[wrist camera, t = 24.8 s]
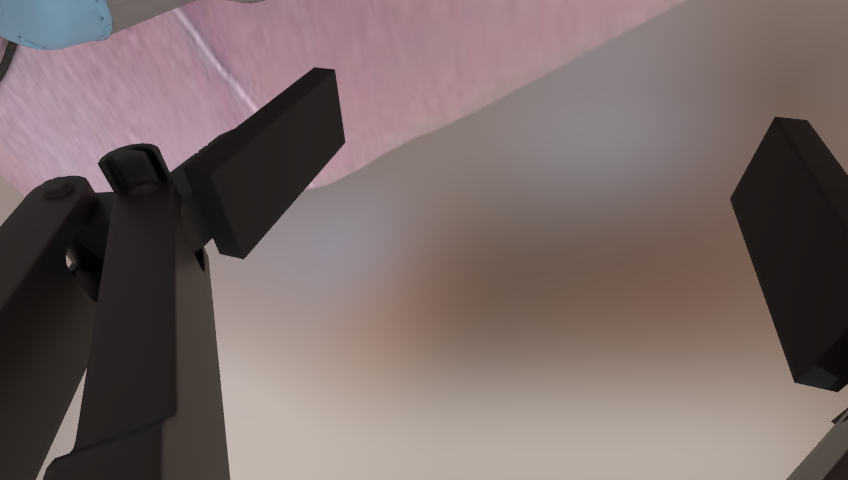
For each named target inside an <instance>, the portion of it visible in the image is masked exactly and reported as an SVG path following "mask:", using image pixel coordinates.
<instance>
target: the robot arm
mask: <svg viewBox="0 0 848 480" xmlns="http://www.w3.org/2000/svg"><path fill="white" fill-rule="evenodd" d="M193 1H195V0H0V36H1V37H3V38H5V39H7V40H9V43H8V46H7V48H6V51H5V54H4V56H3V59H2V62H1V64H0V82H1V80H2V78H3V77H4V75H5V73H6V71H7V69H8V67H9V65H10V62H11V60H12V57H13V55H14V52H15V50H16V47H17V45H18V44H19V45H23V46H26V47H30V48H34V49H41V50H45V49H48V50H54V49H63V48H67V47H70V46H73V45H77V44H80V43H84V42H88V41H102V40H105V39H107V38H108V37H109V36H110V35H111V34H113V33H115V32H117V31H120V30H122V29H125V28H127V27H130V26H132V25H135V24H137V23H140V22H142V21H145V20H147V19H150V18H152V17H155V16H157V15H160V14H162V13H164V12H167V11H170V10H172V9H175V8H177V7H180V6H182V5H185V4H188V3H190V2H193ZM230 1H236V2H242V3H255V2H260V1H264V0H230ZM344 143H345V137H344V130H343V123H342V116H341V109H340V102H339V95H338V88H337V81H336V74H335V70H334V69H324V68H315V67H314V68H313V69H312V70H310V71H309V72H308V73H306V74H305V75H304V76H303V77H301V78H300V79H299V80H297V81H296V82H295V83H293V84H292V85H291V86H290V87H288V88H287V89H286V90H284V91H283V92H282V93H281V94H279V95H278V96H277V97H275V98H274V99H273V100H271V101H270V102H269V103H268V104H266V105H265V106H264V107H262V108H261V109H260V110H258V111H257V112H256V113H255V114H253V115H252V116H251V117H249V118H248V119H247V120H245V121H244V122H243V123H242V124H240V125H239V126H238V127H236V128H235V129H233V130H230V131H228V132H226V133H223V134H221V135H219V136H218V137H217V138H215V139H214V140H213V141H211V142H210V143H209V144H208V146H205V147H203V148H202V149H201V150H199V153H195V154H194V155H193V156H191V157H190V158H189V159H187V160H186V161H185V162H183V163H182V164H181V165H180V166H178V167H177V168H176V169H174V170H173V171H172V172H169V170H168V168H167V165H166V163H165V161H164V159H163V157H162V155H161V152H160V150H159V148H158V147H157V146H154V145H152V144H143V143H142V144H132V145H128V146H124V147H120V148H118V149H116V150H113V151H111V152H109V153H108V154H106V155H105V156H103V157H102V158H101V159H100V161H99V162H98V165H99V167H100V168H101V170H102V172H103V174H104V175H105V177H106V179H107V181H108V182H109V184H110V186H111V187H112V189H113V191H114V192H101V193H95V192H94V190H93V189H92V187H91V185H90V184H89V182H88V181H87V179H86V178H84V177H81V176H66V177H57V178H53V180H52V179H50V180H48V181H46V182H44V183H43V184H41V185H40V186H38V187H36V188H35V189H33V190H32V191H31V192H30V193H29V194H28V195H27V196H26V197H25V198H24V200H23V201H22V202H21V203H20V205H19V206H18V207H17V208H16V209H15V210H14V211H13V213H12V214H11V215H10V216H9V217H8V218H7V220H6V221H5V222H4V223H3V224H2V225H1V227H0V480H36V478H37V476H38V473H39V471H40V469H41V467H42V465H43V462H44V460H45V458H46V456H47V454H48V451H49V449H50V447H51V445H52V443H53V440H54V438H55V436H56V434H57V432H58V429H59V427H60V425H61V423H62V421H63V419H64V416H65V414H66V412H67V410H68V407H69V405H70V403H71V401H72V399H73V396H74V394H75V392H76V390H77V387H78V386H79V383H80V381H81V379H82V376H83V375H84V372H85V370H86V368H87V372H86V378H85V385H84V391H83V398H82V404H81V411H80V417H79V423H78V429H77V436H76V441H75V445H74V448H73V450H72V451H71V452H70V453H69V454H66V455H63V456H61V457H58V458H55V459H54V460H53V461H52V462H51V464H50V465H49V466H48V467H47V469H46V472H45V475H44V477H43V480H230V473H229V463H228V453H227V443H226V434H225V433H226V432H225V422H224V412H223V402H222V392H221V381H220V371H219V362H218V351H217V341H216V331H215V321H214V310H213V300H212V291H211V279H210V270H209V259H208V255H207V253H206V250H205V248H204V246H205V245H206V244H207V243H208V242H209V241H210V240H211V239H212V238H213V239H214V242H215V244H216V246H217V248H218V251H219V253H220V254H223V255H227V256H231V257H237V258H241V259H244V258H245V257H246V256H247V255H248V254H249V253H250V252H251V250H252V249H253V248H254V247H255V246H256V245H257V244H258V242H259V241H260V240H261V239H262V238H263V237H264V235H265V234H266V233H267V232H268V231H269V230H270V229H271V227H272V226H273V225H274V224H275V223H276V222H277V221H278V219H279V218H280V217H281V216H282V215H283V214H284V212H285V211H286V210H287V209H288V208H289V207H290V206H291V204H292V203H293V202H294V201H295V200H296V198H298V196H299V195H300V194H301V193H302V192H303V191H304V189H305V188H306V187H307V186H308V185H309V184H310V183H311V181H312V180H313V179H314V178H315V177H316V176H317V174H318V173H319V172H320V171H321V170H322V169H323V168H324V166H325V165H326V164H327V163H328V162H329V161H330V160H331V158H332V157H333V156H334V155H335V154H336V153H337V151H338V150H339V149H340V148H341V147H342V146H343V145H344ZM730 200H731V203H732V206H733V209H734V212H735V215H736V217H737V220H738V223H739V226H740V229H741V231H742V234H743V237H744V240H745V243H746V246H747V248H748V251H749V254H750V257H751V260H752V263H753V266H754V269H755V271H756V274H757V277H758V280H759V283H760V286H761V289H762V291H763V294H764V297H765V300H766V303H767V305H768V308H769V311H770V314H771V317H772V320H773V323H774V325H775V328H776V331H777V334H778V337H779V340H780V342H781V345H782V348H783V351H784V354H785V357H786V360H787V362H788V365H789V368H790V371H791V374H792V377H793V379H794V382H795V383H799V384H804V385H808V386H813V387H817V388H821V389H826V390H830V391H835V392H839V391H840V390H841V389H842V388H843V387H845V385H847V384H848V175H847V174H846V172H845V171H844V170H843V168H842V167H841V165H840V164H839V163H838V162H837V160H836V159H835V157H834V156H833V155H832V153H831V152H830V151H829V149H828V148H827V146H826V145H825V144H824V142H823V141H822V140H821V138H820V137H819V135H818V134H817V133H816V131H815V130H814V129H813V127H812V126H811V125H810V123H809V122H808V121H807V120H800V119H791V118H782V117H775V118H774V120H773V121H772V123H771V125H770V127H769V129H768V131H767V132H766V134H765V136H764V138H763V140H762V142H761V143H760V145H759V147H758V149H757V151H756V153H755V154H754V156H753V158H752V160H751V162H750V164H749V165H748V167H747V169H746V171H745V173H744V175H743V176H742V178H741V180H740V182H739V183H738V185H737V187H736V189H735V191H734V193H733V195H732V196H731V198H730ZM66 255H67V257H68V258H69V259H70V261H71V262H72V263H71V265H70V267H69V268H68V266H67V265H66ZM831 422H833V423H834V424H835V425H834V426H833V427H832V429H831V430H830V431H829V432H828V433H827V434H826V436H825V437H824V438H823V439H822V440H821V441H820V442H819V443H818V444H817V446H816V447H815V448H814V449H813V450H812V451H811V452H810V454H809V455H808V456H807V457H806V458H805V459H804V460H803V461H802V462H801V464H800V465H799V466H798V467H797V468H796V469H795V470H794V472H793V473H792V474H791V475H790V476H789V477H788V478H787V479H786V480H848V408H847V409H846V410H845V411H843V412H842V413H841V414H840V415H838V416H837V417H836V418H835V419H833V420H832V421H831Z"/></svg>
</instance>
